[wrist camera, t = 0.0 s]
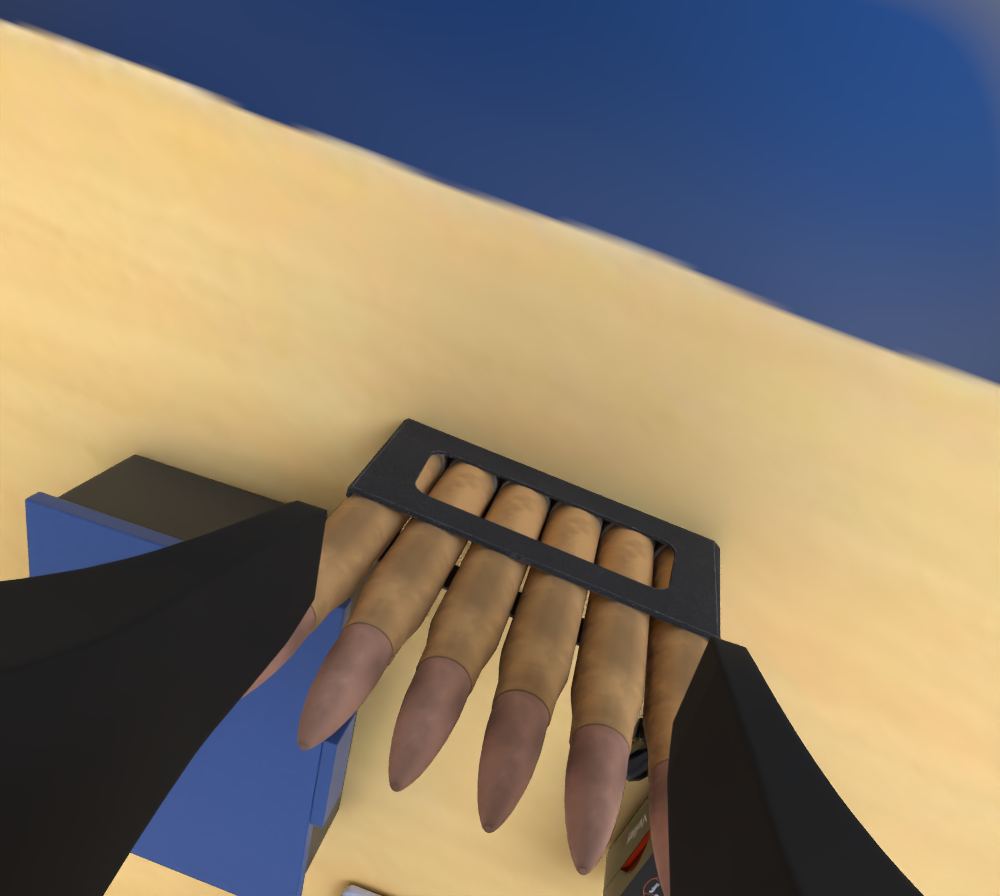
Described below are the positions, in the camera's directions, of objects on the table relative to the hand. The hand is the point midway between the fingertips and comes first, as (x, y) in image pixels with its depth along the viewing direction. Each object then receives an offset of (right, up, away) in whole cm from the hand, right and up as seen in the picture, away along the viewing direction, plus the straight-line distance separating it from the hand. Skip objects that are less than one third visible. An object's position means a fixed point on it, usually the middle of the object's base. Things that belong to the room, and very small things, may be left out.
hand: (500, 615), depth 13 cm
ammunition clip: (+2, +1, +10) cm, 11 cm away
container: (-10, -5, +16) cm, 19 cm away
